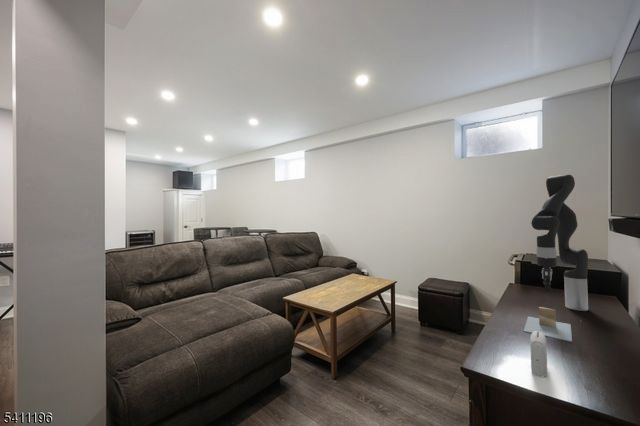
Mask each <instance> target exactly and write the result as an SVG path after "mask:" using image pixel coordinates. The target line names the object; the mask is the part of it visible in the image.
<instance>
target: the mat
mask: <svg viewBox="0 0 640 426" xmlns="http://www.w3.org/2000/svg"><path fill="white" fill-rule="evenodd" d="M534 331H537V332H541V333H543V334H544V336H545V338H552V339H556V340H560V341H565V342H566V341H567V342H571V343H573V338H572V326H571V324H570V323H565V322H560V321H559V322H558V321H556V328H554V327H549V326H544V325H539V317H533V316H527V319H526V323H525V325H524V329H523V332H525V333H529V334H532V333H533V332H534Z"/></svg>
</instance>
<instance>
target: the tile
mask: <svg viewBox="0 0 640 426" xmlns="http://www.w3.org/2000/svg"><path fill="white" fill-rule="evenodd" d="M556 315H557V314H556V309H555V308H549V307H542V306H539V307H538V318H539V325H544V326H549V327H554V328H556V322H557V316H556Z"/></svg>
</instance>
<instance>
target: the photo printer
mask: <svg viewBox="0 0 640 426" xmlns="http://www.w3.org/2000/svg"><path fill="white" fill-rule="evenodd" d="M529 340H530V341H529V344H530V345H529V346H530V369H531V373H533V375H535V374H536V376H538V377H541V376H544V377H546V376H547V373H548V354H547V351H548V350H547V337H546V336H544V334H543V333H541V332H537V331H534V332H533V333H530V336H529Z"/></svg>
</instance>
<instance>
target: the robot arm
mask: <svg viewBox="0 0 640 426" xmlns="http://www.w3.org/2000/svg"><path fill="white" fill-rule="evenodd" d="M575 181H576V180H575V178H574V176H573V175H572V174H562V175H552V176H548V177H547V178H546V181H545V185H546V189H547V190H546V191H547V194H548V197H549V198H547V200H545V202H544V203H543V205H542V208H541V210H539V212H537V213H536V214H535V215H534V216H533V218H532V219H531V223H530V224H531V227H532V228H533V229H534V230H537V231H548V232H547V233H546V234H538V235H537V236H536V265H537V266H540V267H543V268H541V275H542V276H541V278H542V279H543V280H542V283H543V288H544V292H546V293H547V292H548V293H550V292H551V288H552V286H551V284H552V283H551V282H552V280H553V279H552V277H553V269H552V268H554V267H557V266H558V264H557V263H558V262H557V261H558V260H557V249H556V236H557V241H558V242H557V243H558V246H557V247H558V255H559V256H558V257H559V260H560V261H561V263H562V264H564V265H569V266H570V265H571V266H575V268H574V269H569V270H565V271H564V272H563V279H564V280H563V281H564V304H565V305H564V306H565V307H566V308H567V309H569V310H575V311H581V312H587V311H588V310H589V294H588V271H589V269H588V268H589V267H588V266H589V254H588V251H586V250H585V249H581V248H572V247H571V248H570V244H569V243H570V239H571V238H572V236H573V234H574V233H575V232H576V230H577V229H578V219H577V215H576V213H575V211H574V210H573V209H572V208H570V207H569V206H568V205H567V204H566V203H565V201H566V200H567V199H568V197H569V195H571V193H572V192H573V190H574V188H575V184H576V182H575Z"/></svg>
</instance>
